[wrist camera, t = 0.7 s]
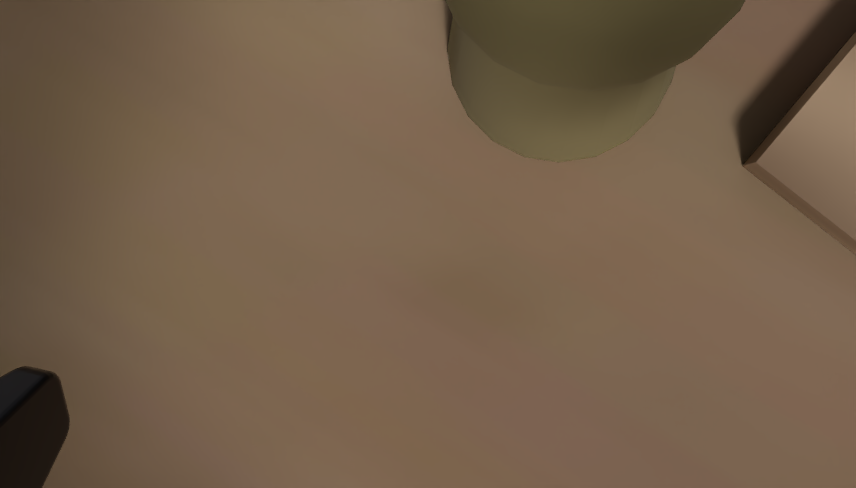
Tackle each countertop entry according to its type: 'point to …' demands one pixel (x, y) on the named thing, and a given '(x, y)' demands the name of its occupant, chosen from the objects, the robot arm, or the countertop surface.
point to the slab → (818, 150)
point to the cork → (572, 67)
